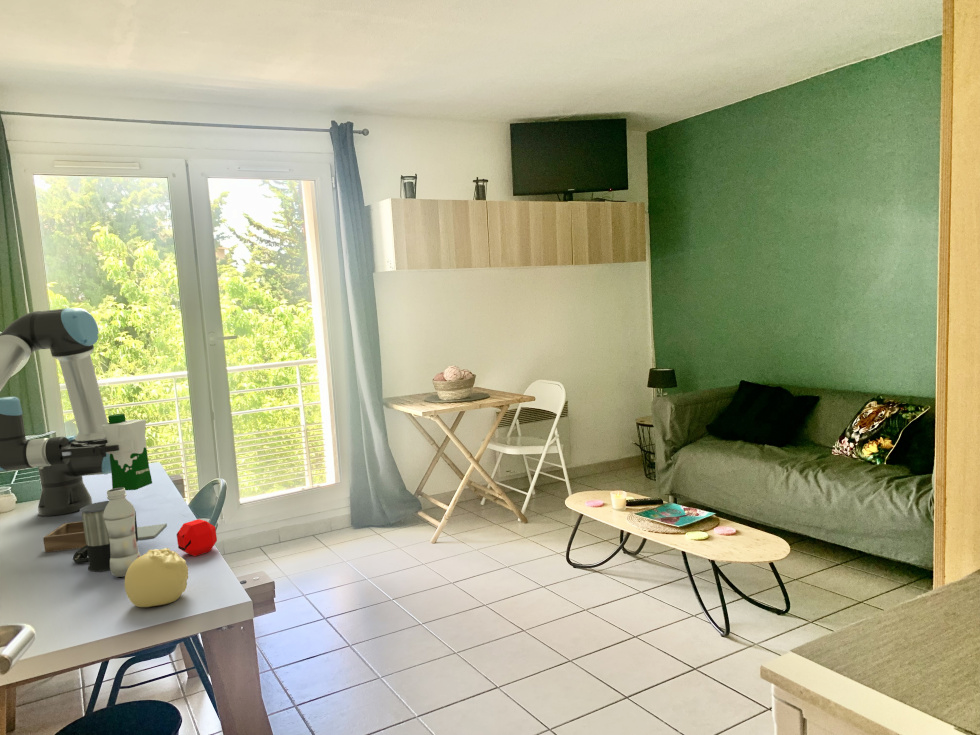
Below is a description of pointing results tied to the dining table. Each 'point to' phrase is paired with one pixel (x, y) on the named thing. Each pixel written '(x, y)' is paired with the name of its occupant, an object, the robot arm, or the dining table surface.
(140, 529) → the mat
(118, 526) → the plastic bottle
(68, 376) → the robot arm
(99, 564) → the milk frother
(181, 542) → the ball
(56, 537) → the holder
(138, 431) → the soya milk
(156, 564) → the pale yellow rounded lump
